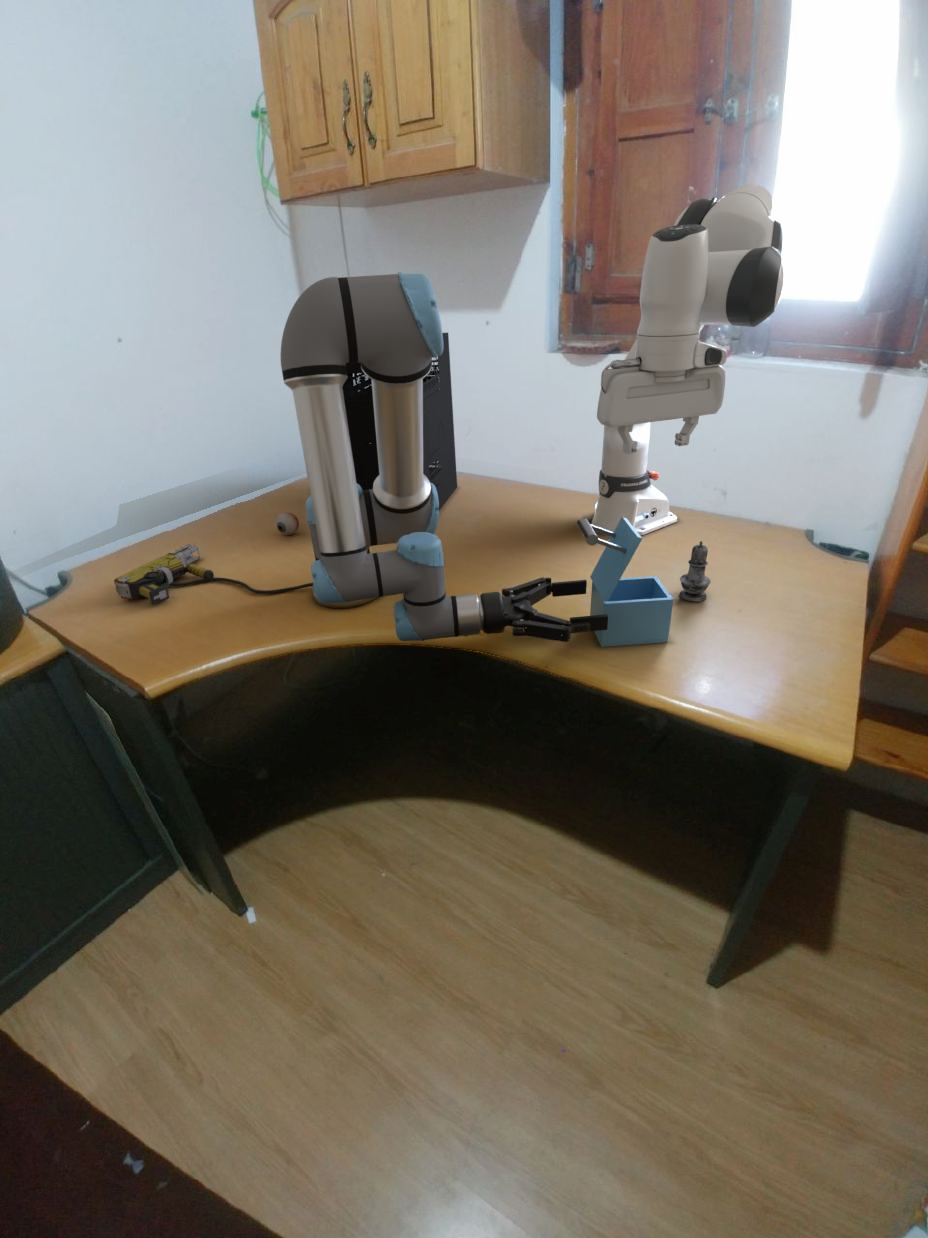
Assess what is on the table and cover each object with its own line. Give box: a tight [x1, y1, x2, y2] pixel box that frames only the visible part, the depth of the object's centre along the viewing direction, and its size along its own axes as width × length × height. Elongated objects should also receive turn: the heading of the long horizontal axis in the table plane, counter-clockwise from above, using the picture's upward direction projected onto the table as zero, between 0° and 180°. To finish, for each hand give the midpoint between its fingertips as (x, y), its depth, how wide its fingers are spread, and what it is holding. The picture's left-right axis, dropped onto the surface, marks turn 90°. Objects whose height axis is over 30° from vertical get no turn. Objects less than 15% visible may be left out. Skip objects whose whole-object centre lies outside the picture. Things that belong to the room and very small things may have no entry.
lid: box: [576, 517, 643, 602], centre depth 105 cm, size 12×9×8 cm
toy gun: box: [113, 543, 215, 606], centre depth 141 cm, size 5×24×15 cm
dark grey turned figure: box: [678, 540, 712, 603], centre depth 120 cm, size 6×6×12 cm
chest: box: [589, 575, 675, 648], centre depth 111 cm, size 12×9×9 cm
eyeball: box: [275, 511, 300, 536], centre depth 163 cm, size 6×6×6 cm
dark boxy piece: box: [342, 332, 458, 512], centre depth 169 cm, size 38×20×45 cm, turn 167°
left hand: (596, 603), depth 110 cm, fingers open, 13 cm apart
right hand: (655, 448), depth 96 cm, fingers open, 8 cm apart
